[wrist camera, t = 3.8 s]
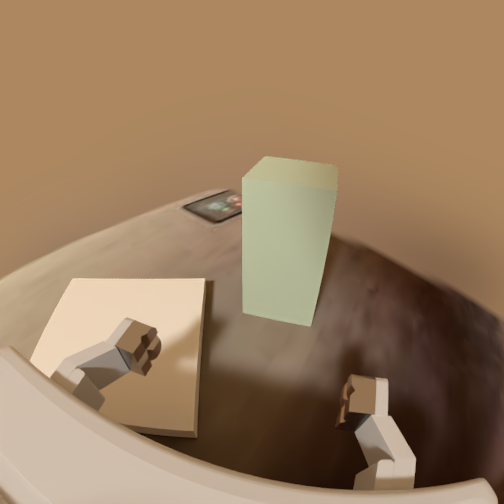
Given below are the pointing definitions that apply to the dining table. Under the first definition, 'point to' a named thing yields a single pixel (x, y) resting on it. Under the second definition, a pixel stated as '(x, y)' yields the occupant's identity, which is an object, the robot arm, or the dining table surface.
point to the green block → (286, 236)
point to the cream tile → (163, 367)
